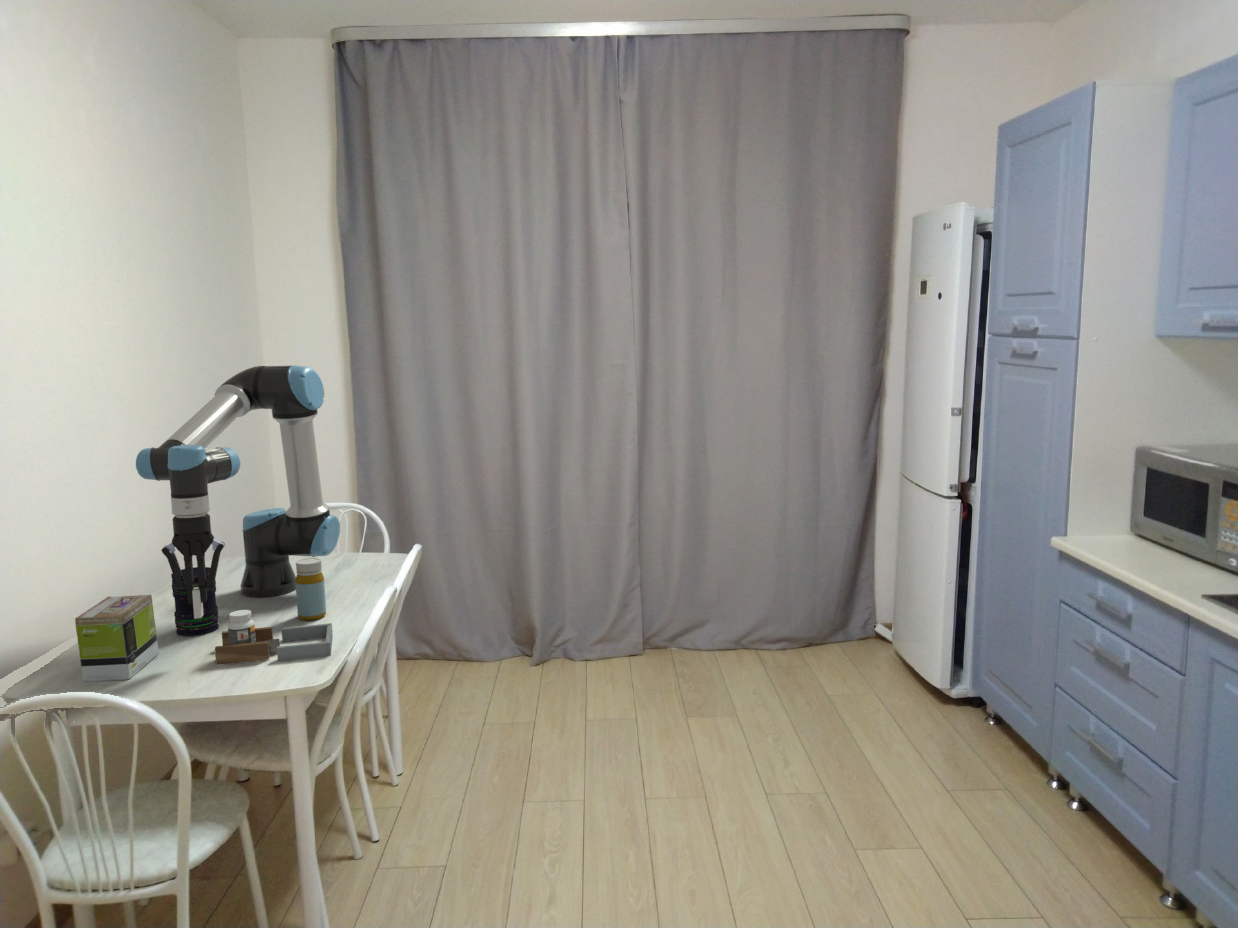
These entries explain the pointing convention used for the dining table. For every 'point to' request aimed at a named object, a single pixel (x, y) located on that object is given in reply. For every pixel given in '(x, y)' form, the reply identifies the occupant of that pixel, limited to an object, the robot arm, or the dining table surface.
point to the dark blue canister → (186, 611)
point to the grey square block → (272, 645)
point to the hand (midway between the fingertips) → (198, 616)
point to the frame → (309, 648)
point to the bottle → (310, 589)
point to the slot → (244, 648)
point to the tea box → (116, 638)
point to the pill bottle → (241, 628)
